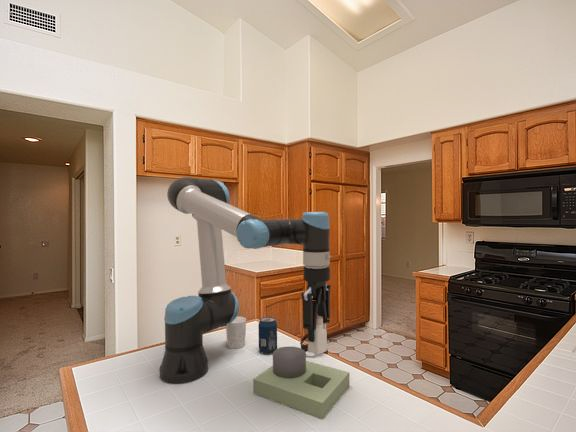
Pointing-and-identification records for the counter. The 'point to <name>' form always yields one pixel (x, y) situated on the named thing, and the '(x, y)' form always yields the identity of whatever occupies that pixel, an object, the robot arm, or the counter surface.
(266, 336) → the soda can
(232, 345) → the white cup
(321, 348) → the pepper shaker
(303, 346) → the dark brown open frame
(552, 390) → the counter surface
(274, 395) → the green knob base
